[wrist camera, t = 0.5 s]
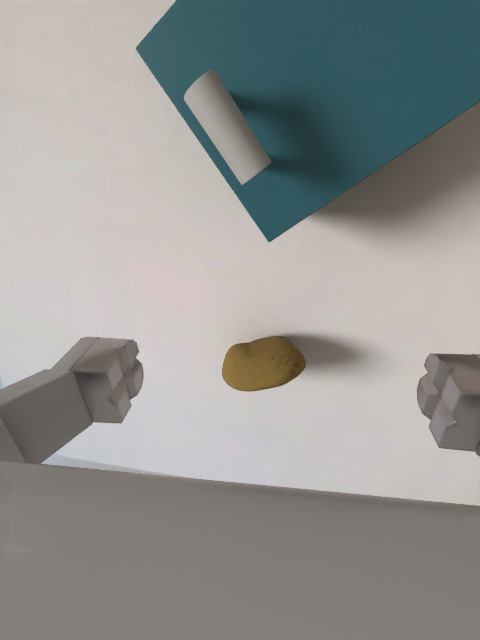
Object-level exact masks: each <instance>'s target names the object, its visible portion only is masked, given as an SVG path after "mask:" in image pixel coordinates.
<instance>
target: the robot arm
mask: <svg viewBox="0 0 480 640" xmlns="http://www.w3.org/2000/svg"><path fill="white" fill-rule="evenodd" d="M138 353H139V350H138V346H137V342H135V341H134V340H131V339H116V338H100V337H84V338H81V339H80V340H79V341H78V342H77V343H76V344H75V345H74V346H73V347H72V348H71V349H70V350H69V351H68V352H67V353H66V354H65V355H64V356H63V357H62V358H61V359H60V360H59V361H58V363H57V364H56V365H55V366H54V367H53V368H52V369H51V370H46V369H45V370H43V371H41V372H38V373H36V374H34V375H32V376H29V377H27V378H25V379H23V380H21V381H18V382H16V383H14V384H12V385H9V386H7V387H5V388H3V389H1V390H0V640H480V506H475V505H464V504H454V503H444V502H433V501H423V500H412V499H402V498H392V497H381V496H371V495H361V494H350V493H340V492H329V491H319V490H309V489H298V488H288V487H277V486H267V485H256V484H246V483H235V482H225V481H214V480H204V479H193V478H183V477H172V476H162V475H151V474H141V473H130V472H120V471H110V470H99V469H88V468H78V467H67V466H57V465H47V464H40V463H42V462H43V461H44V460H46V459H47V458H48V457H50V456H51V455H52V454H54V453H55V452H56V451H57V450H59V449H60V448H61V447H63V446H64V445H65V444H67V443H68V442H69V441H71V440H72V439H73V438H74V437H76V436H77V435H78V434H80V433H81V432H82V431H84V430H85V429H86V428H87V427H89V426H90V425H91V424H92V422H102V423H122V422H123V420H124V418H125V416H126V415H127V413H128V411H129V409H130V407H131V403H130V399H132V398H133V397H135V396H136V395H138V393H139V391H140V389H141V387H142V382H143V367H142V364H141V363H140V362H139V361H138V360H137V359H136V356H137V354H138ZM424 367H425V368H426V370H427V372H428V373H427V374H426V375H424V376H423V377H422V378H420V380H419V384H418V387H417V400H418V404H419V407H420V409H421V412H422V414H424V415H425V416H426V417H428V418H429V419H430V420H431V422H430V424H429V429H430V431H431V433H432V435H433V437H434V439H435V441H436V443H437V445H438V447H439V448H444V449H454V450H464V451H474V452H476V454H477V455H478V456H480V354H472V355H466V354H434V353H430V354H429V356H428V357H427V358H426V361H425V364H424Z"/></svg>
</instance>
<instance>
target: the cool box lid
mask: <svg viewBox="0 0 480 640" xmlns="http://www.w3.org/2000/svg"><path fill="white" fill-rule="evenodd" d="M136 50H137V52H138V53H139V55H140V56H141V58H142V59H143V60H144V62H145V63H146V65H147V66H148V68H149V69H150V71H151V72H152V74H153V75H154V76H155V78H156V79H157V81H158V82H159V84H160V85H161V87H162V88H163V89H164V91H165V92H166V94H167V95H168V97H169V98H170V100H171V101H172V103H173V104H174V105H175V107H176V108H177V110H178V111H179V113H180V114H181V116H182V117H183V119H184V120H185V121H186V123H187V124H188V126H189V127H190V129H191V130H192V132H193V133H194V134H195V136H196V137H197V139H198V140H199V142H200V143H201V145H202V146H203V148H204V149H205V150H206V152H207V153H208V155H209V156H210V158H211V159H212V161H213V162H214V164H215V165H216V166H217V168H218V169H219V171H220V172H221V174H222V175H223V177H224V178H225V179H226V181H227V182H228V184H229V185H230V187H231V188H232V190H233V191H234V193H235V194H236V195H237V197H238V198H239V200H240V201H241V203H242V204H243V206H244V207H245V209H246V210H247V211H248V213H249V214H250V216H251V217H252V219H253V220H254V222H255V223H256V224H257V226H258V227H259V229H260V230H261V232H262V233H263V235H264V236H265V238H266V239H267V240H268V242H270V241H272V240H273V239H275V238H276V237H278V236H279V235H281V234H282V233H284V232H285V231H287V230H288V229H290V228H291V227H293V226H294V225H296V224H297V223H299V222H300V221H302V220H303V219H305V218H306V217H308V216H309V215H311V214H312V213H314V212H315V211H317V210H318V209H320V208H321V207H323V206H324V205H326V204H327V203H329V202H330V201H332V200H333V199H335V198H336V197H338V196H339V195H341V194H342V193H344V192H345V191H347V190H348V189H350V188H351V187H353V186H354V185H356V184H357V183H359V182H360V181H362V180H363V179H365V178H366V177H368V176H369V175H371V174H372V173H374V172H375V171H377V170H378V169H380V168H381V167H383V166H384V165H386V164H387V163H389V162H390V161H392V160H393V159H395V158H396V157H398V156H399V155H401V154H402V153H404V152H405V151H407V150H408V149H410V148H411V147H412V146H414V145H415V144H417V143H418V142H420V141H421V140H423V139H424V138H426V137H427V136H429V135H430V134H432V133H433V132H435V131H436V130H438V129H439V128H441V127H442V126H444V125H445V124H447V123H448V122H450V121H451V120H453V119H454V118H456V117H457V116H459V115H460V114H462V113H463V112H465V111H466V110H468V109H469V108H471V107H472V106H474V105H475V104H477V103H478V102H480V0H176V2H175V3H174V4H173V5H172V6H171V7H170V9H169V10H168V11H167V12H166V13H165V14H164V16H163V17H162V18H161V19H160V20H159V21H158V23H157V24H156V25H155V26H154V27H153V28H152V30H151V31H150V32H149V33H148V34H147V35H146V37H145V38H144V39H143V40H142V41H141V42H140V44H139V45H138V46H137V47H136Z"/></svg>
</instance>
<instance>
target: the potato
mask: <svg viewBox="0 0 480 640" xmlns="http://www.w3.org/2000/svg"><path fill="white" fill-rule="evenodd" d="M305 365H306V361H305V358H304V356H303V355H302V354H301V352H300V351H299V350H298V349H297V348H296V347H295V346H294V345H293V344H292V343H291V342H290V341H289V340H287V339H286V338H283V337H279V336H272V337H267V338H262V339H258V340H255V341H252V342H249V343H240V344H236V345H233V346H232V347H231V348H230V349H229V350H228V352H227V354H226V356H225V359H224V363H223V368H222V376H223V379H224V380H225V382H226V383H227V384H228V385H229V386H231V387H232V388H234V389H237V390H240V391H258V390H263V389H268V388H274V387H278V386H281V385H284V384H286V383H288V382H289V381H291V380H293V379H294V378H296V377H297V376H298V375H299V374H300V373H301V372H302V371H303V370H304V368H305Z"/></svg>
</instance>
